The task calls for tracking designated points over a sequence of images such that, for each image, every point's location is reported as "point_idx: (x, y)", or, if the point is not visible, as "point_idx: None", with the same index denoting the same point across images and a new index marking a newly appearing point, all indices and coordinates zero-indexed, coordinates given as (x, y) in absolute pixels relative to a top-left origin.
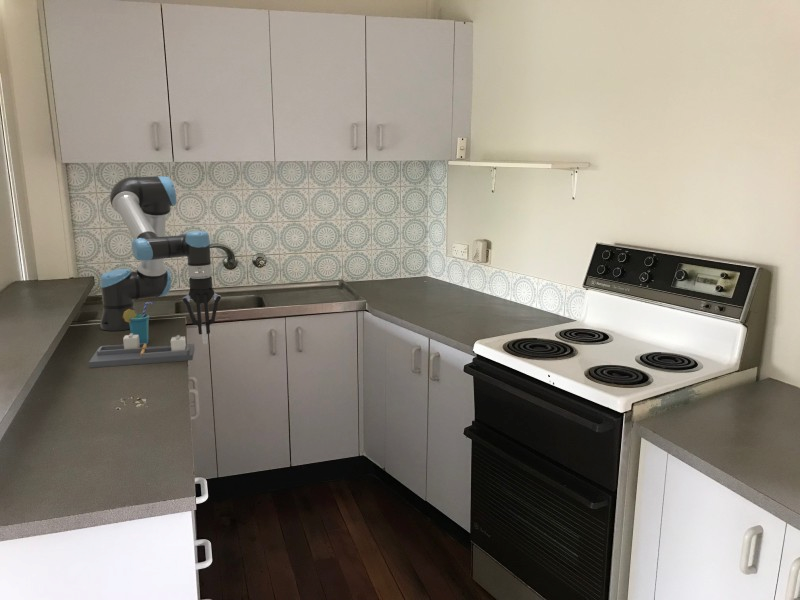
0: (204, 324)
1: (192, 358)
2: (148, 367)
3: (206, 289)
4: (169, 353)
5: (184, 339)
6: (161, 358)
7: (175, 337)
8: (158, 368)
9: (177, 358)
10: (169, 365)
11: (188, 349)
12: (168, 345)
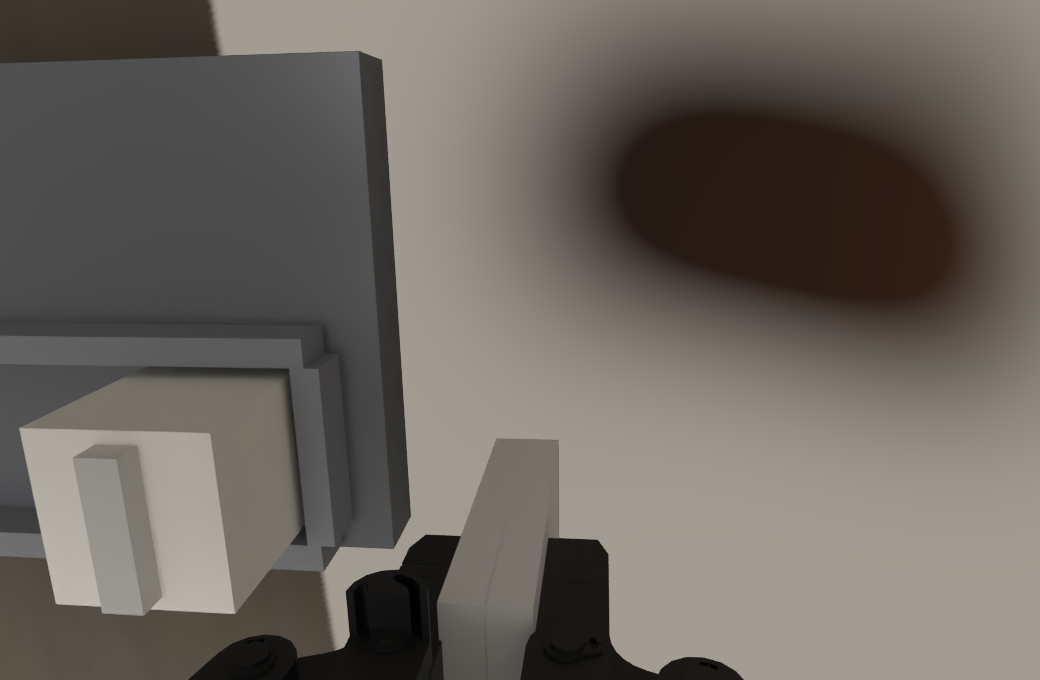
0: (498, 648)
1: (406, 504)
2: (46, 612)
3: None
4: None
5: (232, 590)
6: None
7: (76, 449)
8: (141, 664)
9: None
10: None
11: (333, 508)
12: (31, 62)
